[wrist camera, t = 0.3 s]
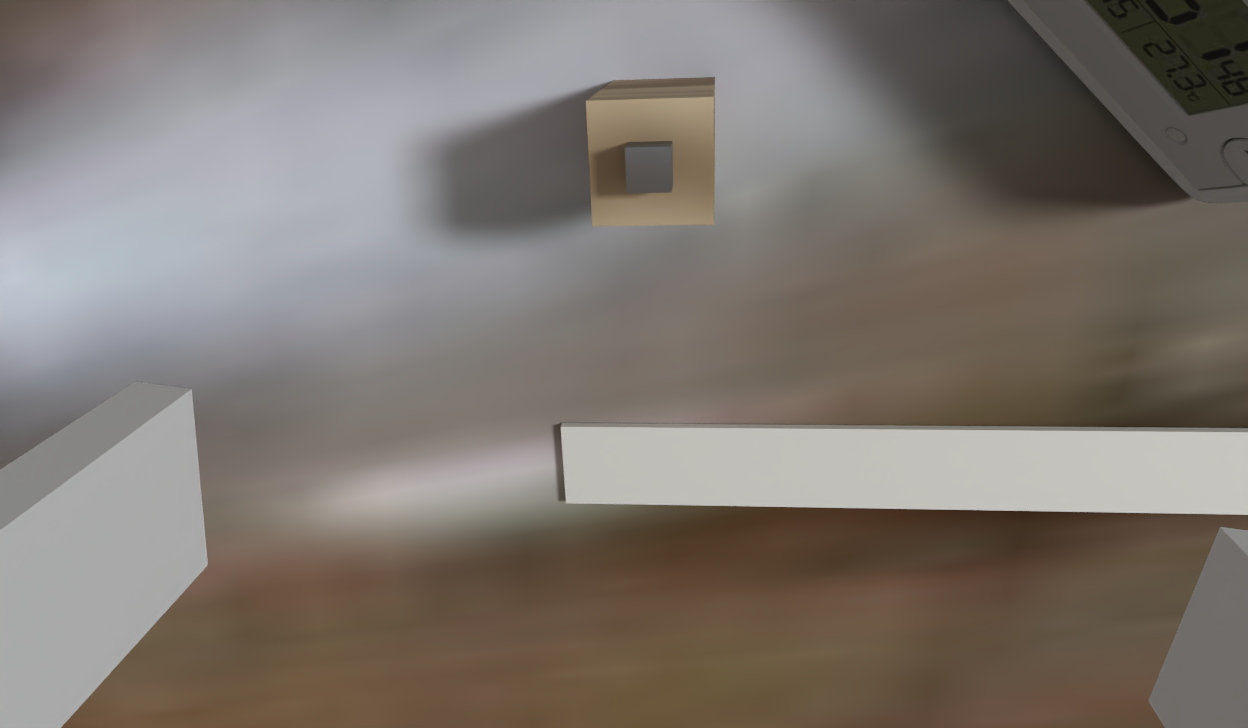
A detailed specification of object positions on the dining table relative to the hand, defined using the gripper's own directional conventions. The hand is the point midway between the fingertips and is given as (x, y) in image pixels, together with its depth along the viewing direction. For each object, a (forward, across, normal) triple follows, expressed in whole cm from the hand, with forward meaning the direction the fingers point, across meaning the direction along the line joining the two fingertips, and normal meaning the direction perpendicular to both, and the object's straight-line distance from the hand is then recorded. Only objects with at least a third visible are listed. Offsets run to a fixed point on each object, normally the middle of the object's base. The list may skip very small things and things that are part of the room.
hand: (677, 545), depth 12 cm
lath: (+27, +13, -12) cm, 32 cm away
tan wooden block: (+27, -2, +2) cm, 27 cm away
